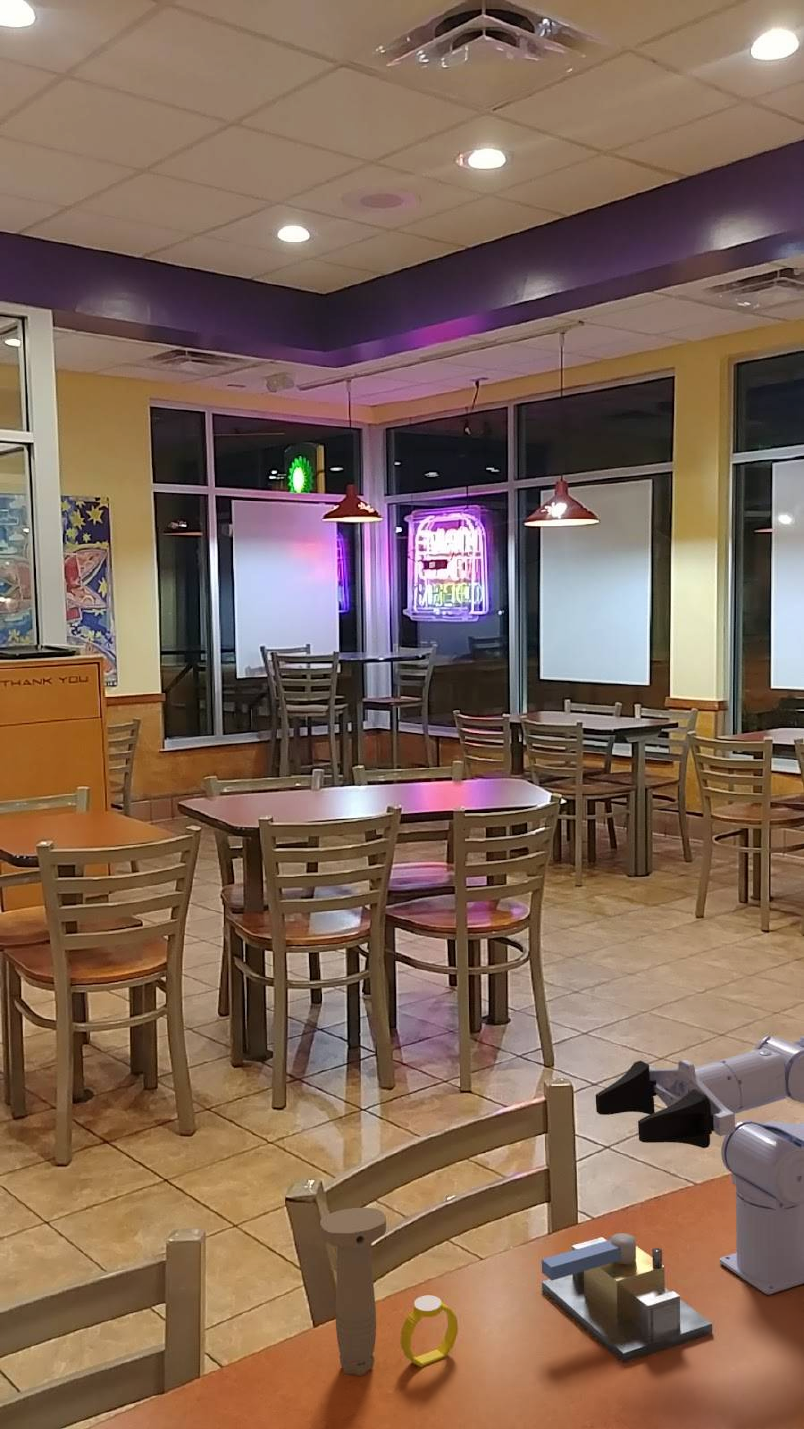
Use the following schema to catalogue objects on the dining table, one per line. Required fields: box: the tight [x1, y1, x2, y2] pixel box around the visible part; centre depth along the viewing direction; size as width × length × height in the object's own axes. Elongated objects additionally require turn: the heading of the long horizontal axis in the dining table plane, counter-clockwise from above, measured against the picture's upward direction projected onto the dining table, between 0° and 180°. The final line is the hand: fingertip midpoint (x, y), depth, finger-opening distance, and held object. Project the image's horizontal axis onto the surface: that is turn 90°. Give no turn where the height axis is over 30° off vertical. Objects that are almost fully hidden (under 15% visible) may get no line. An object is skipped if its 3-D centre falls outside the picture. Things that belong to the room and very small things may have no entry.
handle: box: [319, 1207, 387, 1377], centre depth 119 cm, size 5×6×15 cm
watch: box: [400, 1294, 459, 1368], centre depth 121 cm, size 6×3×6 cm, turn 122°
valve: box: [541, 1237, 713, 1364], centre depth 128 cm, size 11×15×7 cm
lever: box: [541, 1232, 637, 1281], centre depth 126 cm, size 11×3×2 cm, turn 115°
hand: (618, 1117), depth 126 cm, fingers open, 7 cm apart
